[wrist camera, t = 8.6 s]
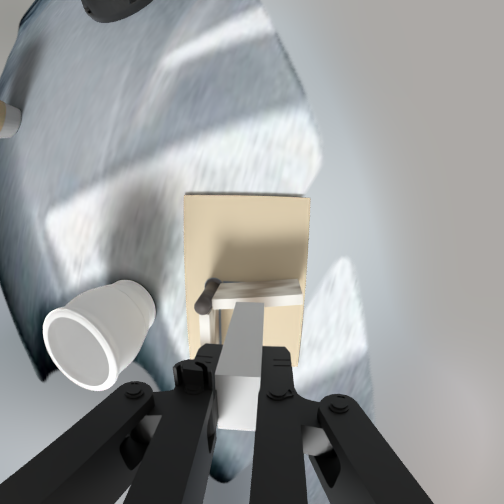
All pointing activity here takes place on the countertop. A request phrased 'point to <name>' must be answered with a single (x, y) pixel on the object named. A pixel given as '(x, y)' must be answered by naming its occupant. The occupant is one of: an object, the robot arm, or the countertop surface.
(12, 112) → the coffee cup
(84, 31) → the countertop surface
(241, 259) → the card
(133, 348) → the jar
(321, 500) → the countertop surface
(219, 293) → the fence flap
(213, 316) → the fence fixed
